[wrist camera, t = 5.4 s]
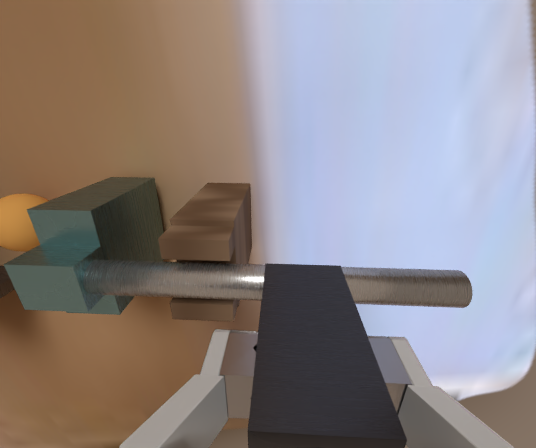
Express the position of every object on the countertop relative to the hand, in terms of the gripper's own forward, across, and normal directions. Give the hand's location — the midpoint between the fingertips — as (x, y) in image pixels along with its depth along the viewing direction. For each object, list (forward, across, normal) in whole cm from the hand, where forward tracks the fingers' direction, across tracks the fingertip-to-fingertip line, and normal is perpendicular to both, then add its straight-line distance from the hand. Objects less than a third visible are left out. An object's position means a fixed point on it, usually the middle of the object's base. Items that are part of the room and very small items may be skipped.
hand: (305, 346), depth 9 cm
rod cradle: (+11, +5, 0) cm, 12 cm away
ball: (+9, +19, 0) cm, 21 cm away
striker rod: (+11, +3, 0) cm, 11 cm away
